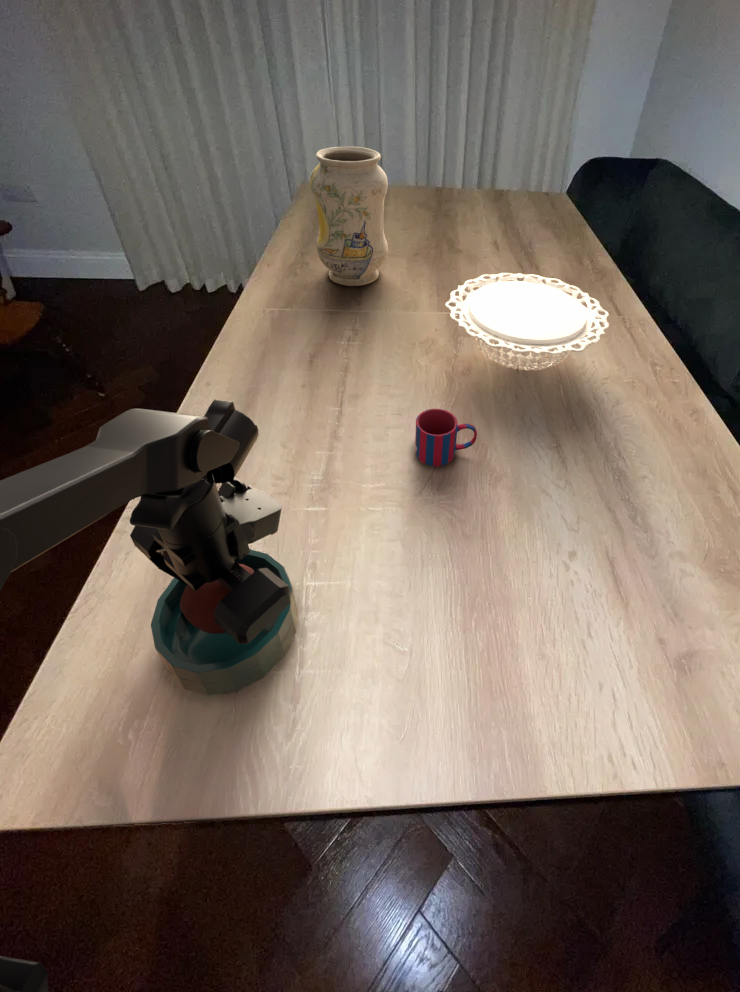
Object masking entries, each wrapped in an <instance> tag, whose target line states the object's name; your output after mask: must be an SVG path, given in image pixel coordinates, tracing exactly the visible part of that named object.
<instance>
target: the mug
mask: <svg viewBox="0 0 740 992" xmlns="http://www.w3.org/2000/svg"><path fill="white" fill-rule="evenodd" d="M467 429H468V430H471V431H472V432H473V437H472V438H471V439H470V440H469V441H467V442H465V443H460V444H459V443H458V444H457V439H458V432H460V431H462V430H467ZM414 437H415V438H414V439H415V440H414V445H415V446H414V455H415V457H416V458H417V460H418V461H419V462H421V463H422V464H424V465H427V466H430V467H442V466H445V465H447V464H449V463H451V462H452V460H454V458H455V454H456V451H460V450H465V449H469V448H470V447H472V446H473V445H474V444H475V443H476V441H477V438H478V431H477V428H476V426H475V425H473V424H471V423H460V424H459V422H458V418H457V417H456V415H455V414H453V413H452V412H451V411H448V410H447V409H443V408H429V409H426V410H423V411H421V412H420V413H419V414H418V415H417V416H416V419H415V436H414Z"/></svg>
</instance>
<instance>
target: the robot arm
mask: <svg viewBox="0 0 740 992" xmlns="http://www.w3.org/2000/svg"><path fill="white" fill-rule="evenodd" d="M258 437H259V428H258V425H257V424H256V423H254V421H253V420H252V419H251V418H250V417H249V416H248V415H246V414H245V413H243V412H241V411H240V410H238V409H236V408H235V405H234V401H230V400H222V399H213V400H212V402H211V404H210V405H209V406H208V408H207V410H206V412H205V414H204V415H196V414H189V413H182V412H181V413H180V412H171V411H165V410H164V411H163V410H154V409H148V408H146V409H145V408H138V407H135V408H130V409H128V410H126V411H124V412H122V413H121V414H119V415H117V416H115V417H114V418H113V419H110V420H108V421H107V422H106V423H104V424H103V425H102V426H100V427H99V428H98V432H97V435H96V439H95V440H94V441H92V442H91V443H89V444H88V445H86V446H84V447H81V448H78V449H75V450H73V451H71V452H69V453H67V454H63V455H62V456H58V457H56V458H54V459H53V458H52V459H51V460H49V461H46V462H44V463H41V464H39V465H35V466H34V467H30V468H28V469H26V470H23V471H20V472H17V473H15V474H13V475H11V476H8V477H5V478H3V479H1V480H0V592H1V591H2V589H3V587H4V585H5V584H6V582H7V581H8V578H9V577H10V575H11V573H12V572H14V571H16V570H18V569H19V568H21V567H22V566H24V565H26V564H27V563H29V562H31V561H33V560H34V559H36V558H37V557H39V556H41V555H42V554H44V553H46V552H47V551H49V550H51V549H53V548H55V547H56V546H58V545H59V544H61V543H62V542H65V541H66V540H67V539H69V538H71V537H72V536H74V535H76V534H77V533H79V532H81V531H83V530H84V529H86V528H88V527H89V526H91V525H92V524H94V523H95V522H98V521H99V520H101V519H103V518H104V517H106V516H108V515H109V514H111V513H113V512H114V511H116V510H118V509H119V508H121V507H123V506H124V505H127V503H129V502H131V501H133V500H135V499H137V498H139V501H138V503H137V504H136V506H135V507H134V508H133V510H132V511H131V514H130V518H129V525H131V526H134V527H133V529H132V530H131V533H130V534H129V537H130V539H131V541H132V542H133V545H134V547H136V549H138V550H139V551H140V552H141V553H142V554H143V555H144V556H145V557H146V558H147V559H148V560H149V561H150V562H151V563H152V564H153V565H154V566H155V567H156V568H158V569H159V570H160V571H162V572H163V573H165V574H167V575H169V576H171V577H172V578H176V579H178V580H179V581H181V582H183V583H185V584H186V585H187V584H188V585H189V586H190V587H191V588H192V589H193V590H194V591H197V590H198V589H199V588H200V587H201V586H203V585H204V584H205V583H211V582H214V581H216V580H217V581H218V582H219V583H220V584H222V585H223V586H224V587H225V588H226V589H227V590H228V591H229V592H230V593H229V594H228V595H226V596H225V597H224V598H223V599H222V600H221V601H220V602H219V604H218V606H217V608H216V610H215V612H214V616H215V619H214V621H215V622H216V623H217V624H218V625H220V626H221V627H222V628H223V629H224V630H225V631H226V632H227V633H228V634H229V635H231V636H232V637H233V638H234V639H235V640H236V641H237V642H238V643H239V644H245V643H249V642H250V641H251V640H252V639H253V638H255V637H256V636H257V635H258V634H259V633H260V632H261V631H262V630H263V629H264V628H265V627H266V626H267V625H268V624H269V623H270V622H271V621H273V620H274V619H275V618H276V617H277V616H278V615H279V614H280V613H281V612H282V611H283V610H284V609H285V608H286V607H287V606H288V605H289V604H290V603H291V593H290V588H289V586H288V585H287V584H286V583H285V582H284V581H282V580H281V579H280V578H279V577H277V576H276V575H275V574H274V573H272V572H271V571H270V570H269V569H268V568H261V569H257V570H256V571H255V572H254V573H252V574H250V573H249V572H247V571H246V570H245V569H244V568H243V567H241V566H240V565H239V564H238V563H237V562H235V561H234V560H235V559H236V558H238V559H239V560H241V559H242V558H244V557H245V556H246V555H247V554H249V553H250V549H251V548H250V546H249V545H250V544H254V543H256V542H258V541H260V540H262V539H264V538H265V537H268V536H272V535H275V534H276V533H278V531H279V526H280V521H281V515H282V510H283V505H282V504H281V503H280V502H279V501H278V500H277V499H275V498H274V497H272V496H271V495H269V493H267V492H266V491H264V490H262V489H260V488H257V487H256V488H255V487H254V486H253V485H251V484H248V485H247V486H246V484H245V482H244V481H242V480H240V479H239V478H238V477H236V476H237V474H238V473H239V471H240V470H241V468H242V466H243V464H244V462H245V460H246V459H247V457H248V455H249V454H250V452H251V450H252V448H253V447H254V445H255V444H256V442H257V440H258ZM217 484H221V485H220V486H219V489H218V487H217ZM231 572H232V573H231ZM236 576H237V577H236ZM238 578H239V579H238ZM241 580H242V581H241ZM47 971H48V970H47V969H46V968H45V966H44V965H43V963H42V962H39V961H33V960H27V959H22V958H15V957H10V956H5V955H0V992H50V989H49V978H48V972H47Z"/></svg>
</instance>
